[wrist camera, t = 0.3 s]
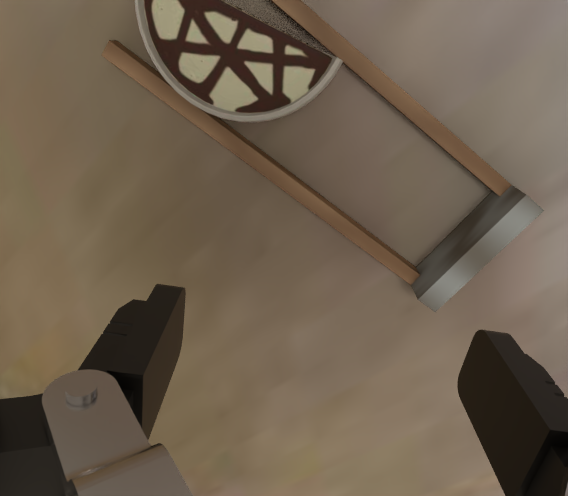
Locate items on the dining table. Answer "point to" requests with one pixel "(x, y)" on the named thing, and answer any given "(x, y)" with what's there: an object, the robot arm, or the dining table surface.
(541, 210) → the guide channel
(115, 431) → the robot arm
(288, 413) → the dining table surface
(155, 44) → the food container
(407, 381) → the dining table surface
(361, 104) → the dining table surface
